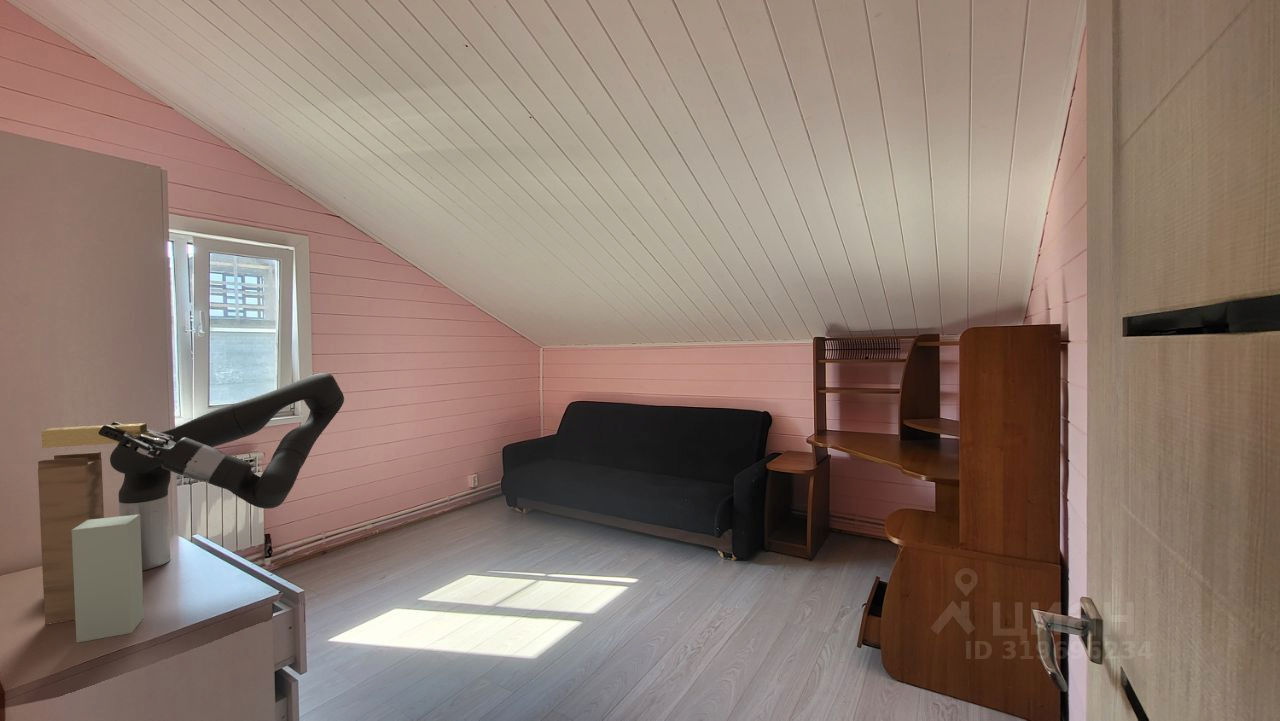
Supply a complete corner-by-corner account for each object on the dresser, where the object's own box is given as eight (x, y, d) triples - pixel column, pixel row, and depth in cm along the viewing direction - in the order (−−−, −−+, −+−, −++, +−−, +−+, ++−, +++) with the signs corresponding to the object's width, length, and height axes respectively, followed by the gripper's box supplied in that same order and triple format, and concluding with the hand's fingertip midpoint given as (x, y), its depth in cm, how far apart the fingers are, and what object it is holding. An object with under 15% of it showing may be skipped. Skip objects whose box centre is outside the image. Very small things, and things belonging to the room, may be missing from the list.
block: (92, 627, 107) (87, 519, 106) (143, 618, 111) (139, 514, 110) (76, 642, 102) (71, 529, 101) (131, 633, 105) (127, 523, 104)
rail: (52, 444, 111) (51, 428, 111) (147, 438, 117) (146, 423, 117) (42, 447, 108) (41, 430, 108) (140, 441, 114) (139, 425, 114)
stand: (64, 608, 114) (57, 454, 113) (107, 601, 117) (101, 451, 116) (45, 624, 108) (37, 461, 106) (91, 617, 111) (84, 458, 109)
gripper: (215, 439, 127) (131, 407, 120) (195, 451, 114) (100, 416, 107) (196, 468, 126) (110, 437, 119) (174, 483, 113) (77, 450, 106)
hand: (106, 427), depth 113 cm, fingers closed on rail, 3 cm apart
